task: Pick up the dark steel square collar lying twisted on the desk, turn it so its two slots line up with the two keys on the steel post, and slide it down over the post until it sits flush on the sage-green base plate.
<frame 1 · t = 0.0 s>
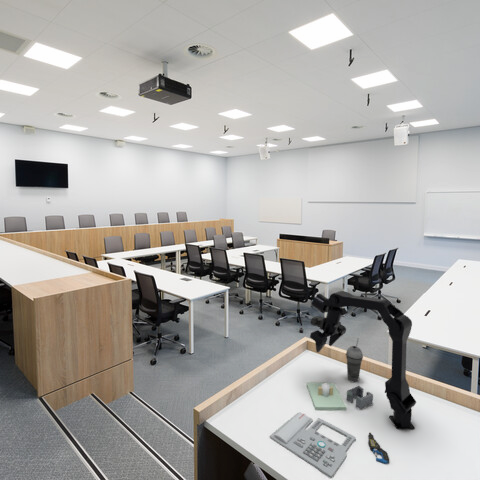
hand: (323, 348, 141), 15 cm above the table, tool pointing down, fingers open, 9 cm apart
keyed collar: (359, 401, 129), on the table
office telephone: (313, 441, 109), on the table
keyed post stand: (325, 397, 132), on the table
beverage cup: (352, 379, 145), on the table
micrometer: (377, 450, 105), on the table
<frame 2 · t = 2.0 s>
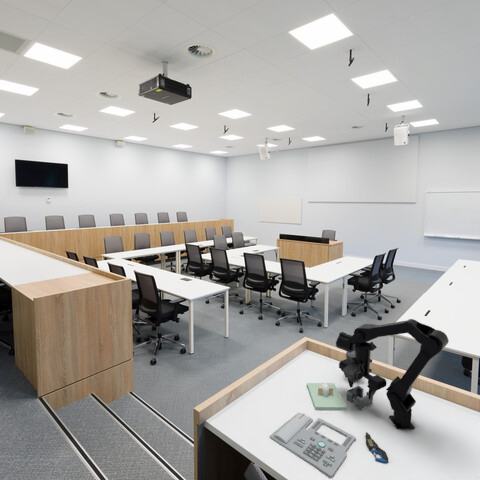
hand: (360, 392, 128), 4 cm above the table, tool pointing down, fingers open, 9 cm apart
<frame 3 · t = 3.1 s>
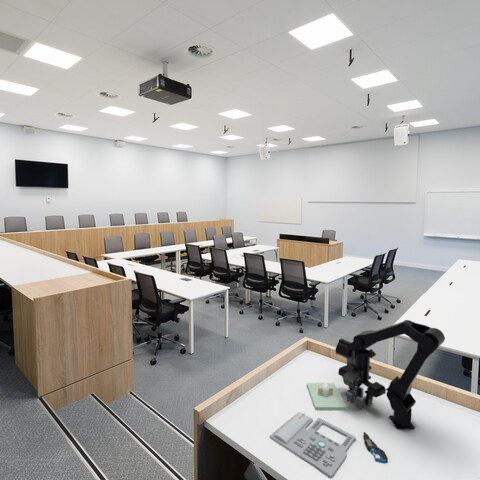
hand: (359, 399, 129), 1 cm above the table, tool pointing down, fingers closed on keyed collar, 7 cm apart
keyed collar: (359, 401, 129), on the table, touching gripper
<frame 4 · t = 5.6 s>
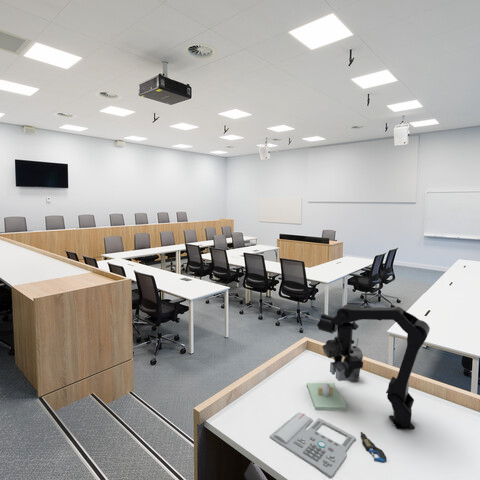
hand: (342, 372, 129), 11 cm above the table, tool pointing down, fingers closed on keyed collar, 7 cm apart
keyed collar: (341, 375, 129), point 10 cm above the table, touching gripper
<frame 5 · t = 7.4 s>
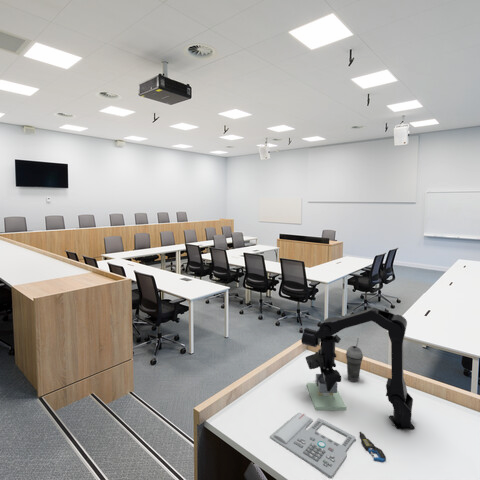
hand: (326, 385, 131), 5 cm above the table, tool pointing down, fingers closed on keyed collar, 7 cm apart
keyed collar: (326, 387, 131), point 4 cm above the table, touching gripper
when the fingers open (4 cm above the table, at t = 8.6 s): keyed collar drops 2 cm, resting on keyed post stand.
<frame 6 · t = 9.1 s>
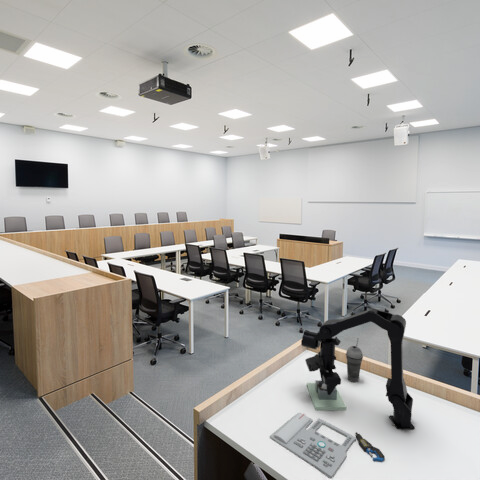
hand: (325, 387, 131), 4 cm above the table, tool pointing down, fingers open, 9 cm apart
keyed collar: (325, 394, 132), point 1 cm above the table, touching keyed post stand
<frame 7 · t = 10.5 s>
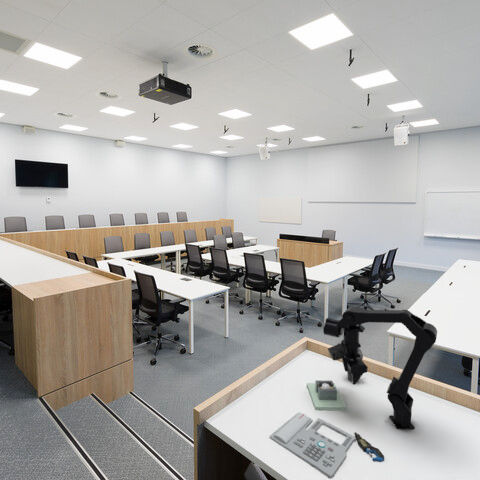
hand: (350, 377, 126), 11 cm above the table, tool pointing down, fingers open, 9 cm apart
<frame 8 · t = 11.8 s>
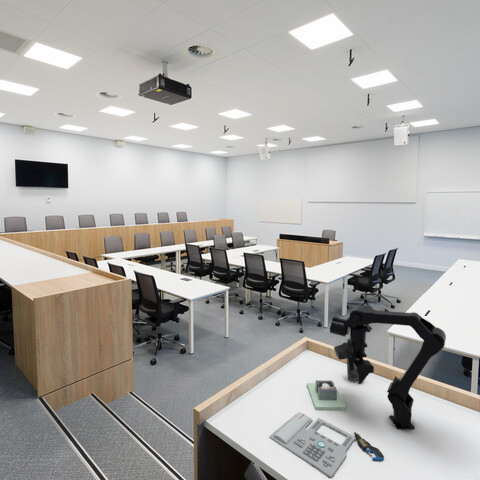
hand: (355, 377, 125), 12 cm above the table, tool pointing down, fingers open, 9 cm apart
at the end: keyed collar 0.1 cm off-centre on the keyed post stand, point 1.2 cm above the keyed post stand's base; keyed collar tilted 0°; the gripper is holding nothing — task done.
